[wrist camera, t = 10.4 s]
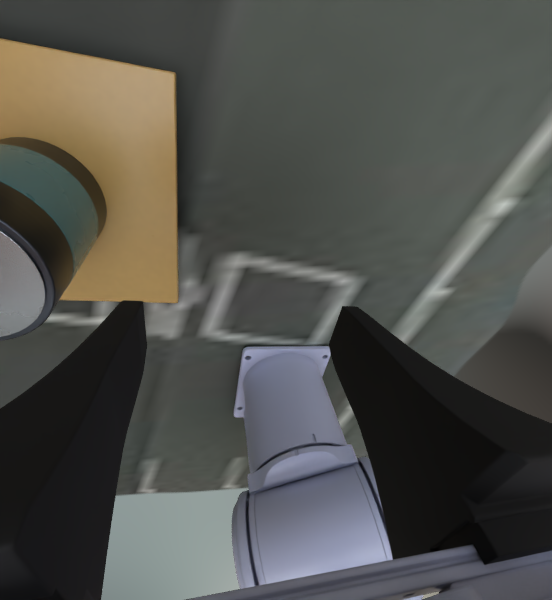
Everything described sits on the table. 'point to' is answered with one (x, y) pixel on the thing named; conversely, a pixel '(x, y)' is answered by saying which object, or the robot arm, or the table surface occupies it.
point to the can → (42, 229)
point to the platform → (106, 159)
